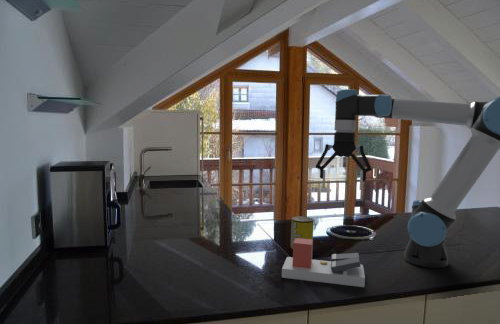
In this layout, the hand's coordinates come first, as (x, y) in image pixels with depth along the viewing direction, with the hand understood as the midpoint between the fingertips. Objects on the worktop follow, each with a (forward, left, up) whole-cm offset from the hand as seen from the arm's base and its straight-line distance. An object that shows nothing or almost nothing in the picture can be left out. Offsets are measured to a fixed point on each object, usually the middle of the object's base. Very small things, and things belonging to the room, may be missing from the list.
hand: (342, 188), depth 143 cm
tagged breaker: (-2, +17, -21) cm, 27 cm away
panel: (+5, +20, -27) cm, 34 cm away
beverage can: (+15, -8, -27) cm, 32 cm away
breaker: (-2, +23, -21) cm, 31 cm away
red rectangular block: (+12, +20, -24) cm, 33 cm away
